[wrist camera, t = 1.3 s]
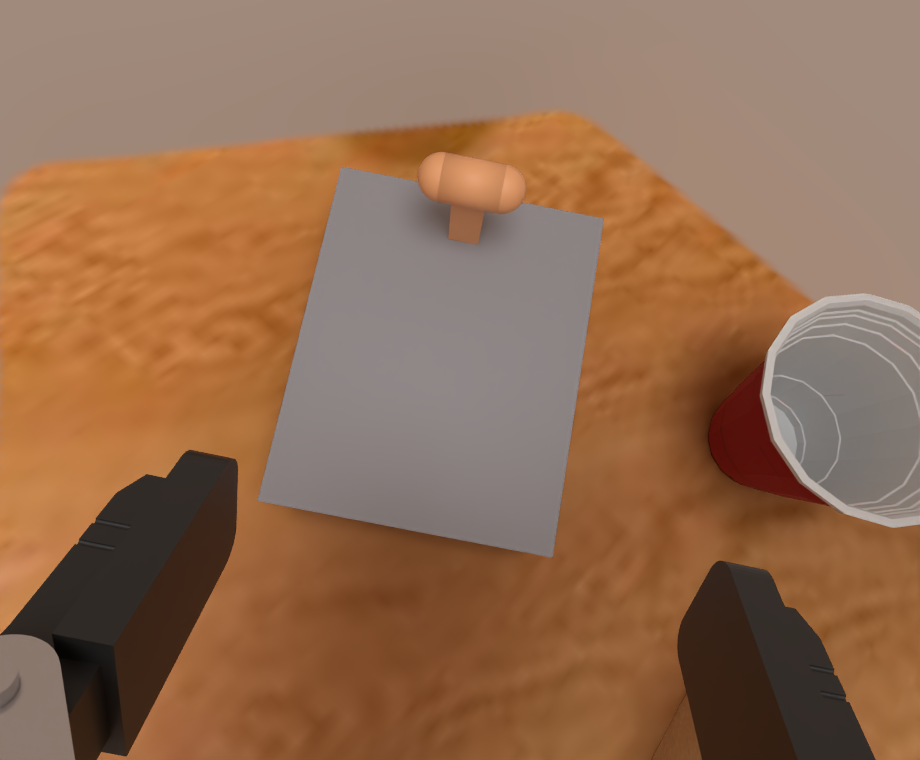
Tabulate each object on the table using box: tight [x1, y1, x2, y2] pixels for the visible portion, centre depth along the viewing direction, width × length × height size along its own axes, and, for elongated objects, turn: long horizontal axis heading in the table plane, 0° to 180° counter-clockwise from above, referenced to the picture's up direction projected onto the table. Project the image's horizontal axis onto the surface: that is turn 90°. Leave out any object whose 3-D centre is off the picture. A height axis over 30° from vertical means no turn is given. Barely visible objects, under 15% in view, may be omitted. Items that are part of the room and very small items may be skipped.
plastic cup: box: [708, 293, 920, 528], centre depth 35 cm, size 11×11×12 cm
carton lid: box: [258, 152, 604, 558], centre depth 31 cm, size 18×14×7 cm
